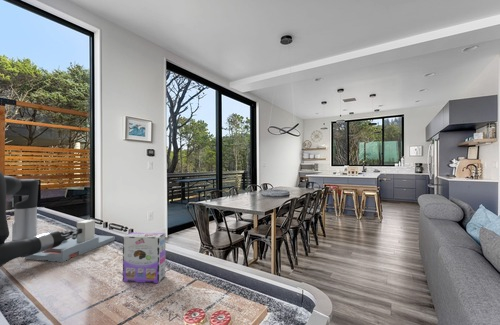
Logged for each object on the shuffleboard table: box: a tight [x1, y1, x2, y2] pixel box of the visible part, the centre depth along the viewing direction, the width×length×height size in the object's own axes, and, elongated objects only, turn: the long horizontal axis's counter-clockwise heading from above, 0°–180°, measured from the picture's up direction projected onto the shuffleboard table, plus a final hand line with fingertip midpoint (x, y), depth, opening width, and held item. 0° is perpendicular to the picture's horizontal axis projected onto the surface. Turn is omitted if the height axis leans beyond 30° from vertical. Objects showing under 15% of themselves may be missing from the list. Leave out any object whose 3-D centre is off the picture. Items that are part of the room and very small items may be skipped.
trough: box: [24, 234, 116, 263], centre depth 117 cm, size 30×20×5 cm, turn 170°
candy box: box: [122, 231, 166, 284], centre depth 87 cm, size 14×6×16 cm, turn 84°
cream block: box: [76, 219, 96, 242], centre depth 123 cm, size 6×5×10 cm
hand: (80, 230), depth 120 cm, fingers closed
